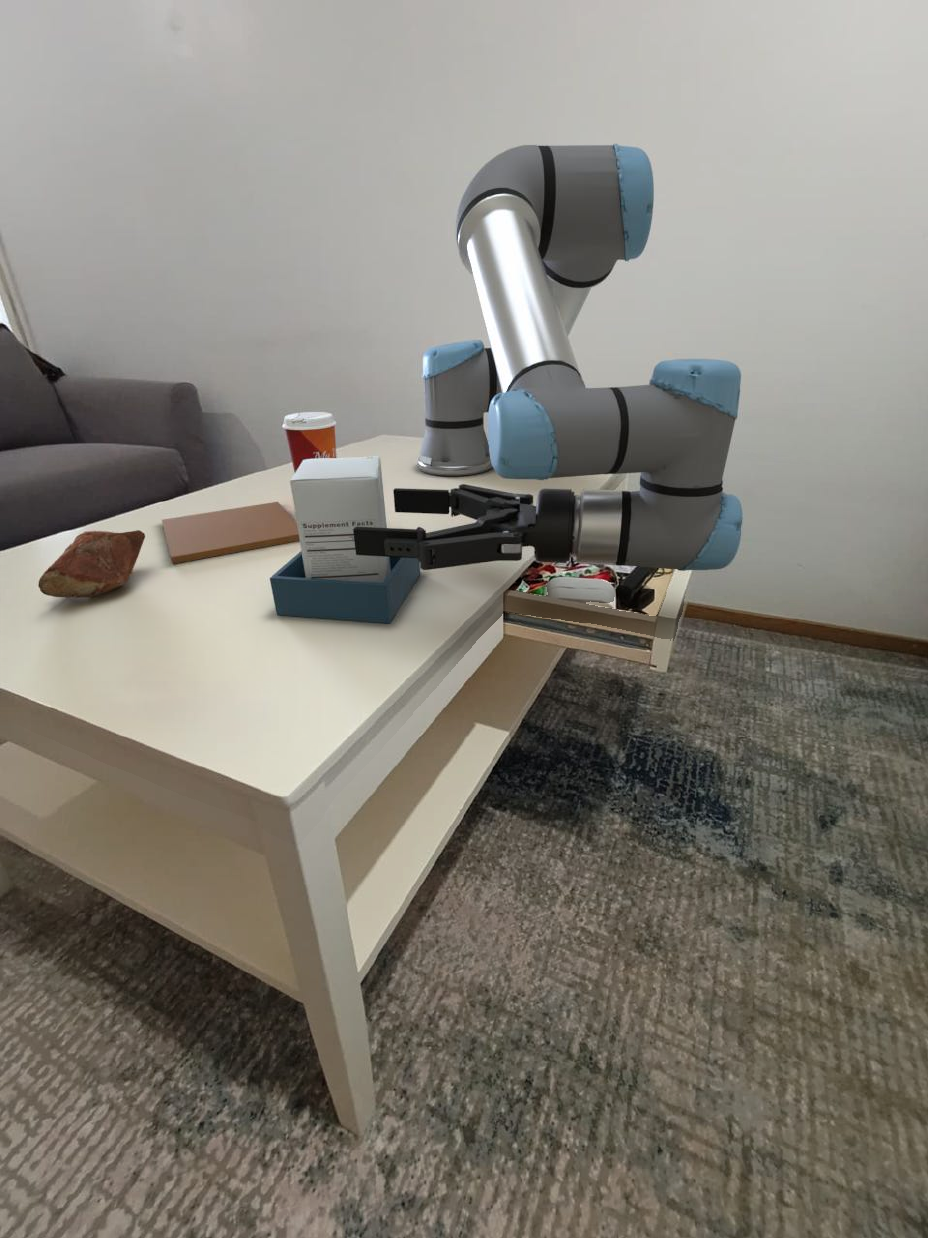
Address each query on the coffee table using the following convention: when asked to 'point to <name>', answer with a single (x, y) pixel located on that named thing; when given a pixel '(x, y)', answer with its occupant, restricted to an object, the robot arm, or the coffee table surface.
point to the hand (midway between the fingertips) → (376, 518)
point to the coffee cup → (310, 436)
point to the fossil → (93, 564)
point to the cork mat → (228, 531)
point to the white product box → (339, 516)
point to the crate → (342, 593)
